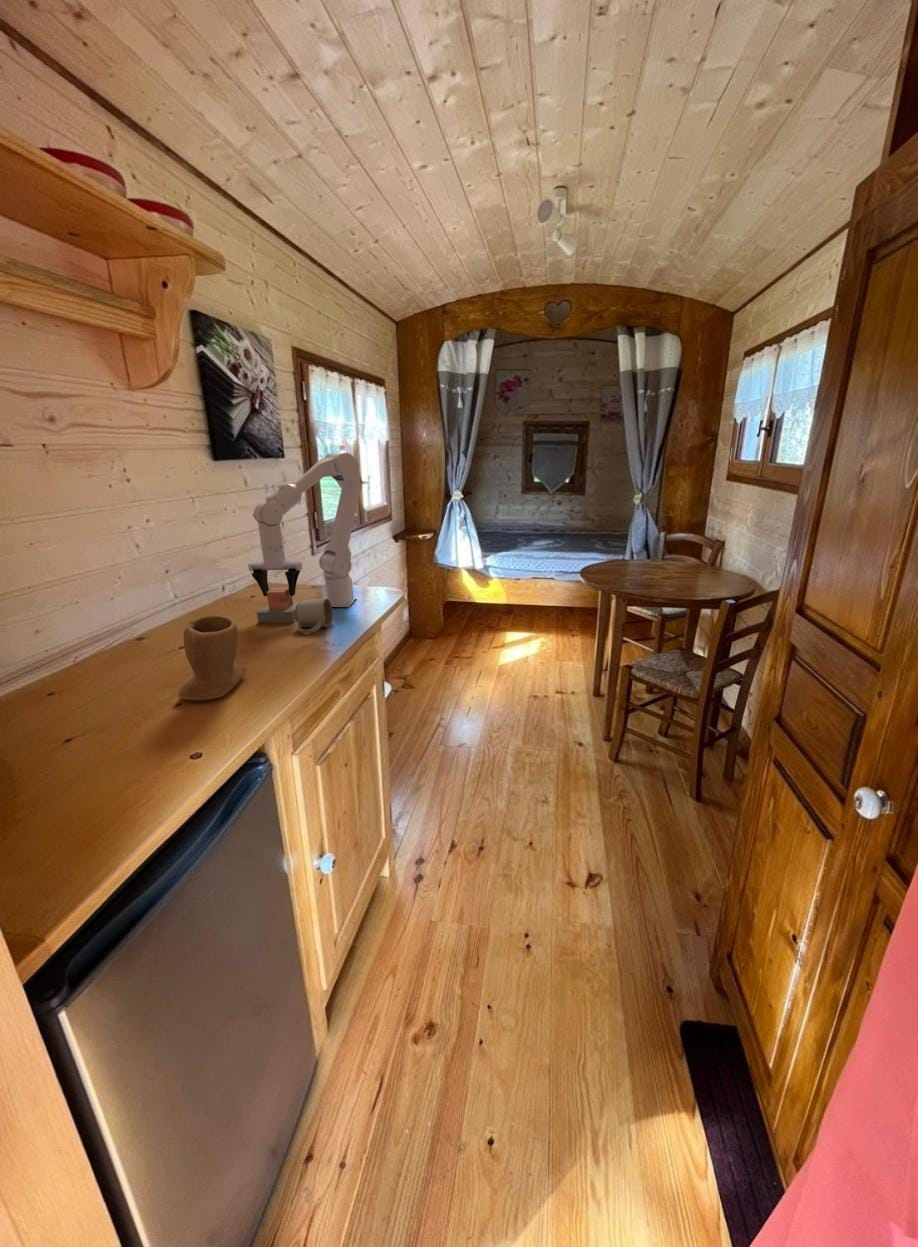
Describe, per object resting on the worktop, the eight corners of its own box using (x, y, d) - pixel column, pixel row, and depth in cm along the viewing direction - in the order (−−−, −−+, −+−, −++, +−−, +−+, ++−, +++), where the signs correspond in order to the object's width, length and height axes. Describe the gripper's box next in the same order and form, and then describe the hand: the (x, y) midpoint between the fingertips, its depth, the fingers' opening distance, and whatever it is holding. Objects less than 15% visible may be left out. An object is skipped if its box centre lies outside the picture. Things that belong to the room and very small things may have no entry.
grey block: (273, 613, 160) (271, 602, 159) (306, 613, 159) (304, 601, 158) (258, 624, 151) (256, 612, 149) (293, 624, 150) (291, 612, 149)
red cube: (276, 604, 156) (273, 587, 155) (293, 604, 156) (290, 587, 154) (269, 609, 152) (266, 592, 150) (286, 609, 151) (284, 592, 150)
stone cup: (232, 705, 102) (218, 629, 98) (171, 705, 103) (154, 631, 98) (263, 672, 117) (252, 605, 112) (209, 673, 117) (195, 607, 112)
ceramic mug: (305, 622, 149) (301, 595, 147) (334, 621, 149) (331, 594, 146) (291, 635, 140) (287, 607, 137) (322, 635, 139) (318, 606, 136)
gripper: (240, 550, 145) (248, 599, 150) (292, 549, 144) (299, 598, 148) (252, 545, 152) (259, 592, 156) (302, 544, 151) (308, 592, 155)
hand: (279, 595), depth 153 cm, fingers open, 7 cm apart
